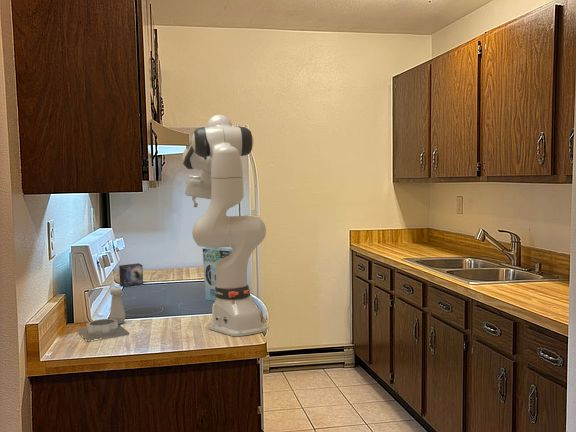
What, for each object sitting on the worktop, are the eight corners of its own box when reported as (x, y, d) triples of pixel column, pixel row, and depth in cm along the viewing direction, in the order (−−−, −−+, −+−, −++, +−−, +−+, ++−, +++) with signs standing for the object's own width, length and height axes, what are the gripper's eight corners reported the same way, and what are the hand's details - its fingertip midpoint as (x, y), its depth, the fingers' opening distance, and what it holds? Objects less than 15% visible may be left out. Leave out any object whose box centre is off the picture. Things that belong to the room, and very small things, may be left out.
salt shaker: (121, 324, 204) (119, 289, 204) (106, 324, 205) (104, 289, 205) (128, 321, 209) (126, 287, 210) (114, 321, 210) (112, 287, 211)
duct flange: (129, 334, 191) (128, 323, 191) (86, 342, 184) (86, 330, 184) (116, 325, 205) (116, 314, 205) (76, 331, 198) (76, 321, 197)
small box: (123, 287, 279) (122, 266, 279) (119, 285, 285) (118, 265, 284) (143, 284, 285) (142, 264, 284) (139, 282, 290) (138, 263, 290)
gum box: (241, 303, 233) (238, 249, 231) (231, 306, 229) (229, 250, 228) (213, 297, 247) (211, 246, 245) (204, 299, 244) (201, 247, 242)
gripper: (185, 174, 245) (181, 205, 246) (231, 182, 245) (227, 212, 246) (188, 174, 251) (184, 204, 252) (233, 181, 251) (228, 211, 253)
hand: (205, 208), depth 249 cm, fingers open, 8 cm apart
